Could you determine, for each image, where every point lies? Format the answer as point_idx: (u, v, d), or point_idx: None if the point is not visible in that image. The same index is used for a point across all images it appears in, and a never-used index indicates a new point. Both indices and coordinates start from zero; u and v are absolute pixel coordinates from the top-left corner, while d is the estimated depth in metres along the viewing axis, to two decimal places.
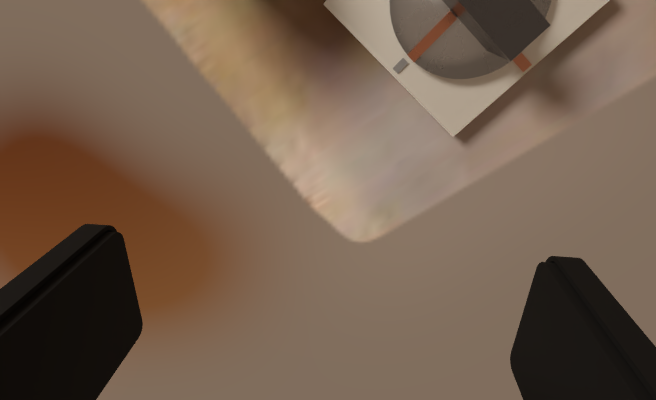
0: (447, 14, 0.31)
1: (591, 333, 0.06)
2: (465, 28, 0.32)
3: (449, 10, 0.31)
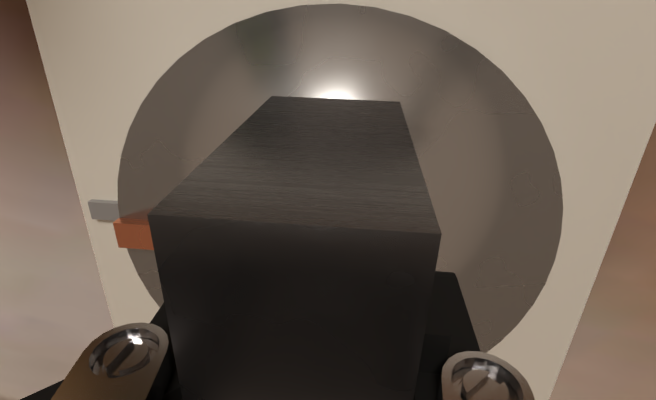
0: None
1: None
2: None
3: None
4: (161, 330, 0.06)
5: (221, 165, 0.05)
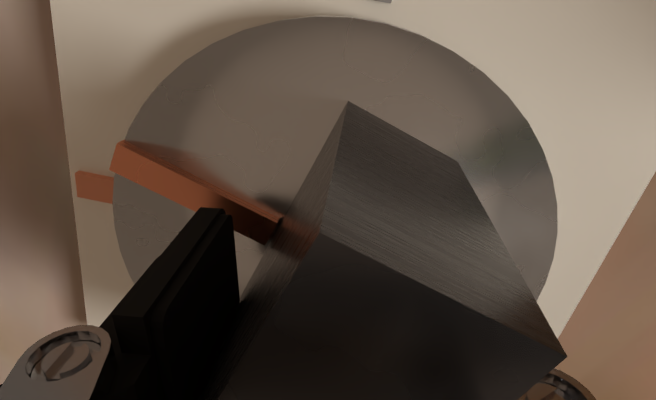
0: (266, 218, 0.11)
1: None
2: (253, 267, 0.12)
3: (279, 217, 0.11)
4: (105, 332, 0.06)
5: (352, 186, 0.05)
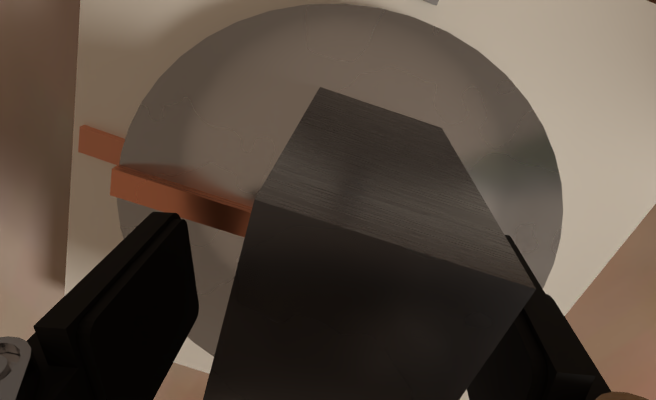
0: None
1: None
2: None
3: None
4: (26, 345, 0.06)
5: (304, 158, 0.05)
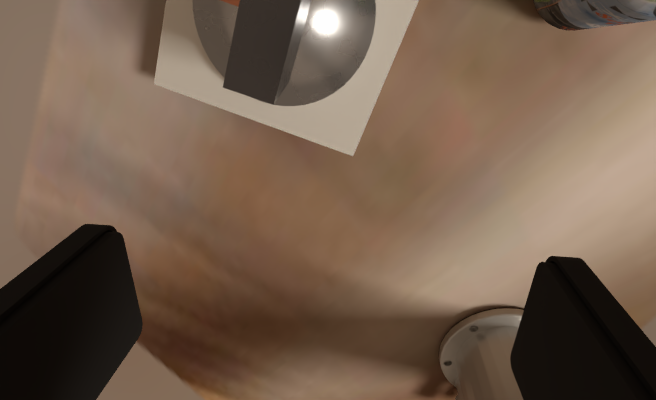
0: None
1: (591, 333, 0.06)
2: None
3: None
4: None
5: None
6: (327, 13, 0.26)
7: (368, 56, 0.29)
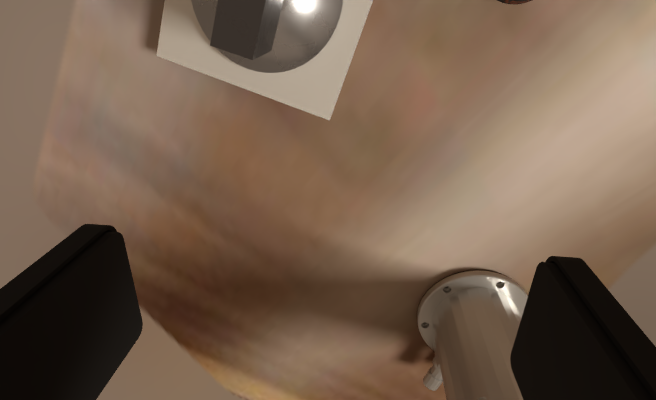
0: None
1: (591, 333, 0.06)
2: None
3: None
4: None
5: None
6: None
7: (340, 28, 0.33)
